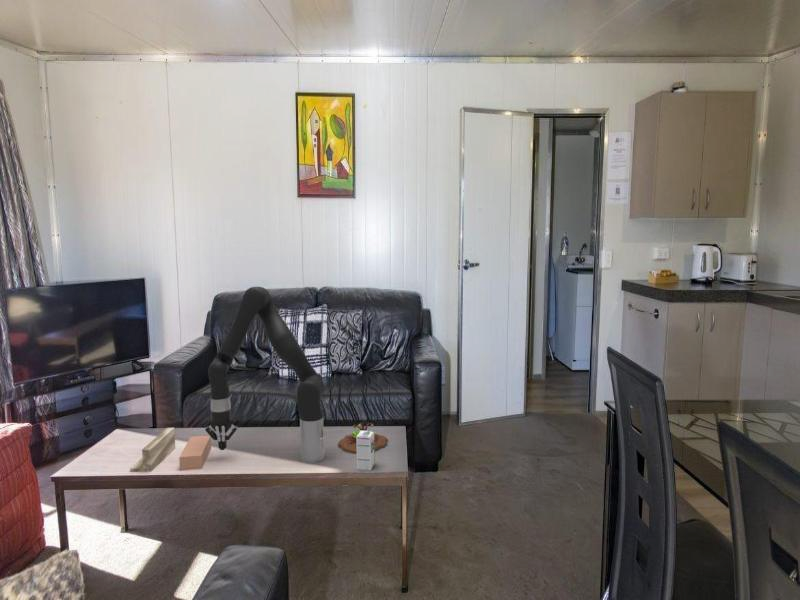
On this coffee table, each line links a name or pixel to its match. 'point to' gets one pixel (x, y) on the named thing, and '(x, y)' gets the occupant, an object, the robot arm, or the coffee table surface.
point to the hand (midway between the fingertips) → (222, 449)
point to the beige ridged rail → (156, 451)
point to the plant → (350, 440)
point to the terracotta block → (195, 453)
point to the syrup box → (365, 450)
